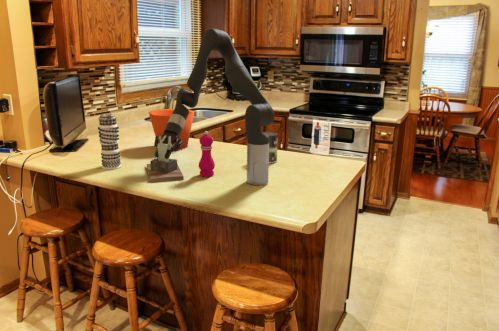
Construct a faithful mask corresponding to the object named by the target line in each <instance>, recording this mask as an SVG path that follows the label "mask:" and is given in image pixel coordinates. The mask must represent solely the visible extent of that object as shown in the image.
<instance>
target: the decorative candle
mask: <svg viewBox="0 0 499 331" xmlns="http://www.w3.org/2000/svg"><path fill="white" fill-rule="evenodd" d="M117 118H118V117H116V116H115V115H114V113H102V114H100V115H99V117H98V118H97V119H98V124H99V125H98V126H97V129H98V137H99V140H98V141H99V143H100V147H101V153H100V155H101V157H100V158H101V166H102V167H101V168H102V169H104V170H116V169H120V168H121V166H122V165H121V164H122V162H121V158H120V157H121V155H120V154H121V152H120V148H119V142H120V141H119V140H120V138H119V137H120V134H118V133H120V131H119V126H118V123H117Z"/></svg>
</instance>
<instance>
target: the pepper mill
mask: <svg viewBox="0 0 499 331" xmlns="http://www.w3.org/2000/svg"><path fill="white" fill-rule="evenodd" d="M198 140H199V144H200V150H201V157H200V159H199V162H198V169H199V170H200V171H199V176H200V177H202V178H211V176H212V177H214V175H215V170H214V169H215V167H216V163H215V161H214V159H213V158H214V157H213V156H212V149H213V143H214V138H213V136H212V135H210V134H209V131H207V130H205V131H204V132H203V135H201V136H200V137H199V139H198Z"/></svg>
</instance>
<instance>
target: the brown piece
mask: <svg viewBox="0 0 499 331" xmlns="http://www.w3.org/2000/svg"><path fill="white" fill-rule="evenodd" d="M146 169H147V170H146V171H147V174H148V177H149V181H150V183H158V182H169V181H170V182H172V181H184V180H185V179H184V178H185V177H184V175H183V173H182V170H181V169H180V167H179V164H178V159H175V158H169V162H162V161H158V158H156V157H155V158H154V159H151V160H150V163H146Z"/></svg>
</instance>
